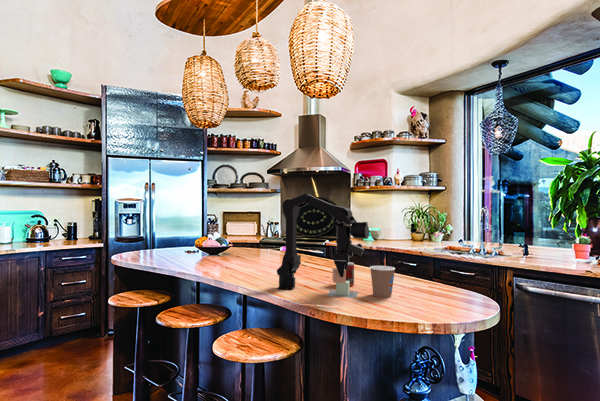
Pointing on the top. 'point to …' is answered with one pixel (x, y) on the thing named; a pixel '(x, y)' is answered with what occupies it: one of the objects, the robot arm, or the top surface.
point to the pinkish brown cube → (338, 276)
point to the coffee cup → (382, 280)
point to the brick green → (342, 288)
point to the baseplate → (351, 295)
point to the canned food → (350, 273)
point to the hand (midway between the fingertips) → (343, 275)
